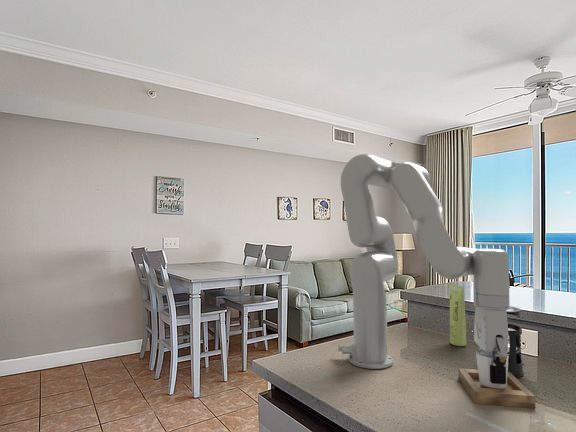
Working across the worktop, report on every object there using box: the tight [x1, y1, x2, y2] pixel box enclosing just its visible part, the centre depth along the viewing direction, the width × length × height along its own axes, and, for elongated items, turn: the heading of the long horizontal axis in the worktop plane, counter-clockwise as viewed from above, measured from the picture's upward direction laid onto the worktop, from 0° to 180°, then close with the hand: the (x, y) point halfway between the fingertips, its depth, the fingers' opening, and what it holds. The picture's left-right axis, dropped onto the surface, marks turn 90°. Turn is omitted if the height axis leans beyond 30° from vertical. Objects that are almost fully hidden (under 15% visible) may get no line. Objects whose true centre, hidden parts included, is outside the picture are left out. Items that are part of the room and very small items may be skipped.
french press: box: [493, 286, 525, 379], centre depth 102 cm, size 12×9×23 cm
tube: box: [449, 283, 467, 347], centre depth 124 cm, size 6×5×20 cm
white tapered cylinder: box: [475, 349, 509, 389], centre depth 88 cm, size 7×7×7 cm
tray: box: [458, 368, 536, 409], centre depth 88 cm, size 12×14×2 cm
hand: (492, 376), depth 88 cm, fingers closed on white tapered cylinder, 6 cm apart
